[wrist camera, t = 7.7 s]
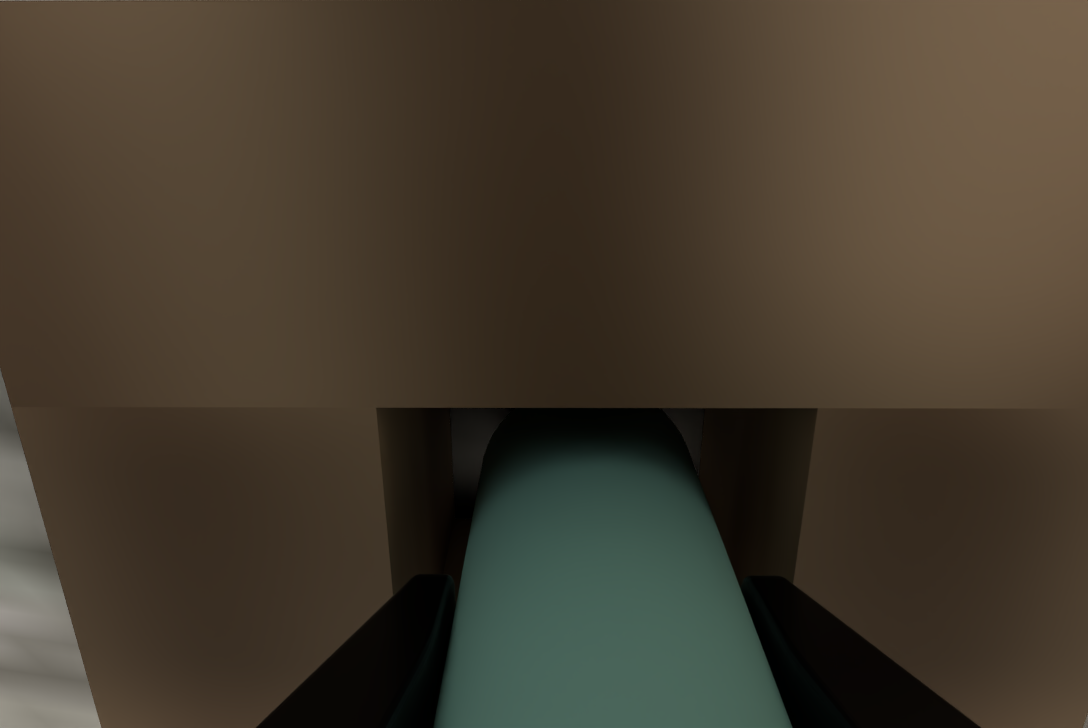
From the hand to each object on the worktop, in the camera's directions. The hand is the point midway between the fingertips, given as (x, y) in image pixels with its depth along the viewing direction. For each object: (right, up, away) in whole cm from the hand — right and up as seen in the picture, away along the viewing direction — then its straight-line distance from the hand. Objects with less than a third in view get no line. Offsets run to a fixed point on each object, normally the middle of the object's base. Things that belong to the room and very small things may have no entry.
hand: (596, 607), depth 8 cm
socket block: (0, +2, +5) cm, 5 cm away
